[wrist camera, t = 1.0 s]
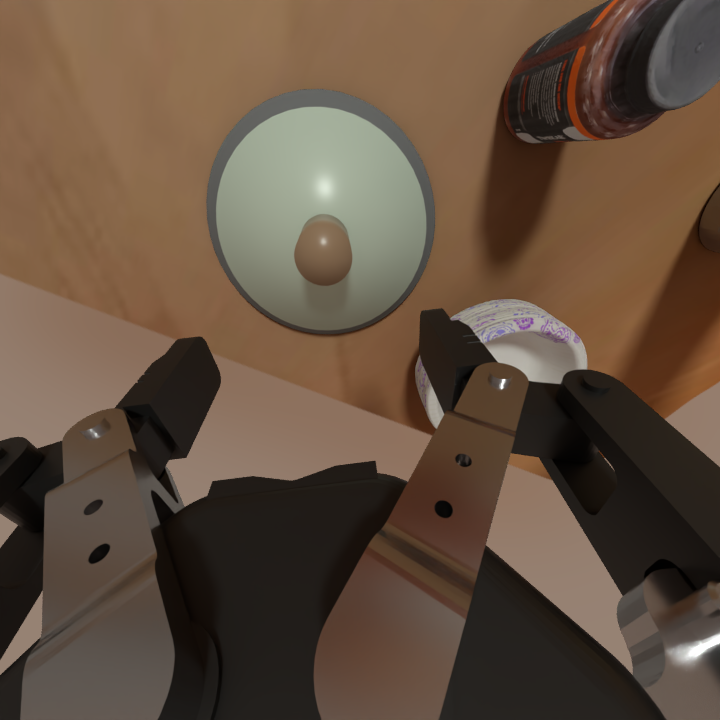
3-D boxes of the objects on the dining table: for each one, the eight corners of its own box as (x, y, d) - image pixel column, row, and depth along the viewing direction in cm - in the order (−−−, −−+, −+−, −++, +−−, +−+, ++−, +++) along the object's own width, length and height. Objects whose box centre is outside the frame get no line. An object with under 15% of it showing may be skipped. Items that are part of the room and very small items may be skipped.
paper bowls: (542, 263, 29) (602, 295, 22) (540, 376, 38) (583, 423, 31) (393, 315, 31) (409, 358, 24) (423, 411, 39) (441, 462, 33)
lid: (427, 95, 21) (457, 77, 16) (420, 315, 30) (437, 346, 26) (183, 122, 20) (136, 112, 16) (255, 334, 30) (240, 369, 25)
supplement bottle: (521, 163, 24) (640, 169, 15) (484, 90, 21) (603, 43, 12) (595, 96, 22) (788, 54, 13) (565, 6, 19) (784, -132, 10)
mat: (440, 76, 21) (442, 74, 20) (428, 320, 32) (429, 322, 31) (165, 105, 20) (161, 104, 20) (249, 341, 31) (248, 344, 31)
